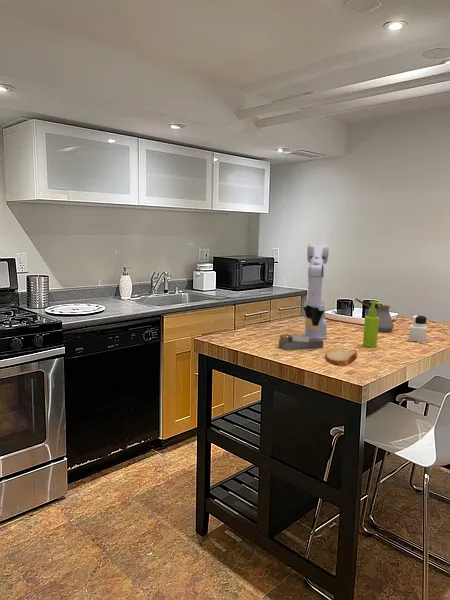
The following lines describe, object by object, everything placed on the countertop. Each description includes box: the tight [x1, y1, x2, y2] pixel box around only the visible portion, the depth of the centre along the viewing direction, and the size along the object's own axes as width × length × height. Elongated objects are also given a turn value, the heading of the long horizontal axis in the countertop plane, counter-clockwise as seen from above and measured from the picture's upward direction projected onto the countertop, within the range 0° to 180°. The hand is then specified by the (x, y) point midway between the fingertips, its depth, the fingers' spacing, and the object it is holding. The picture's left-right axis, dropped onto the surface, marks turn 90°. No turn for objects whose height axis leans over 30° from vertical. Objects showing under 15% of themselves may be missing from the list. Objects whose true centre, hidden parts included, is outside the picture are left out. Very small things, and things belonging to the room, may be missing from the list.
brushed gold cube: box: [305, 316, 320, 329], centre depth 202 cm, size 4×4×4 cm
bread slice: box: [324, 346, 358, 367], centre depth 186 cm, size 18×18×4 cm
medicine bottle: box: [408, 314, 428, 343], centre depth 220 cm, size 7×7×12 cm
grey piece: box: [278, 334, 324, 351], centre depth 201 cm, size 18×6×5 cm, turn 107°
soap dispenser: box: [362, 300, 382, 348], centre depth 206 cm, size 6×7×20 cm
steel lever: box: [287, 334, 309, 342], centre depth 199 cm, size 9×2×2 cm, turn 76°
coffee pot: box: [354, 298, 395, 333], centre depth 243 cm, size 21×12×15 cm, turn 53°
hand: (312, 324), depth 202 cm, fingers closed on brushed gold cube, 4 cm apart
